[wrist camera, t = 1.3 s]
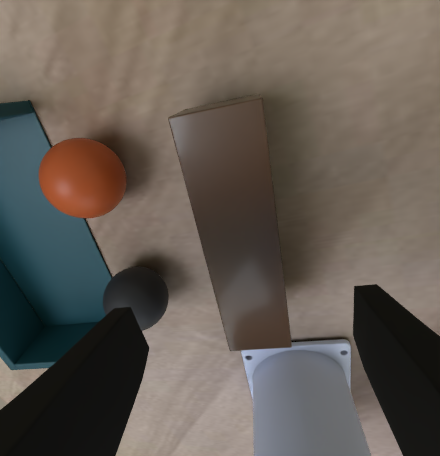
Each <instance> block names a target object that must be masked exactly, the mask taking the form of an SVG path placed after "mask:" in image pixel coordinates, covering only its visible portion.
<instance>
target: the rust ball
mask: <svg viewBox="0 0 440 456" xmlns="http://www.w3.org/2000/svg"><path fill="white" fill-rule="evenodd" d="M39 183H40V187H41V189H42V192H43V194H44V195H45V197H46V198H47V200H48V201H49V202H50V203H51V204H52V205H53V206H54V207H55V208H56V209H58V210H59V211H61V212H63V213H65V214H67V215H70V216H73V217H77V218H94V217H99V216H102V215H104V214H106V213H108V212H110V211H111V210H112V209H114V208H115V207H116V206H117V205H118V204H119V202H120V201H121V199H122V198H123V195H124V193H125V190H126V173H125V169H124V167H123V164H122V162H121V161H120V159H119V158H118V156H117V155H116V154H115V153H114V152H113V151H112V150H111V149H109V148H108V147H107V146H105V145H103V144H102V143H100V142H97V141H94V140H91V139H85V138H73V139H68V140H64V141H62V142H60V143H58V144H56V145H55V146H53V147H52V148H51V149H50V150H49V151H48V152H47V153H46V154H45V156H44V157H43V159H42V161H41V164H40V167H39Z"/></svg>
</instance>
